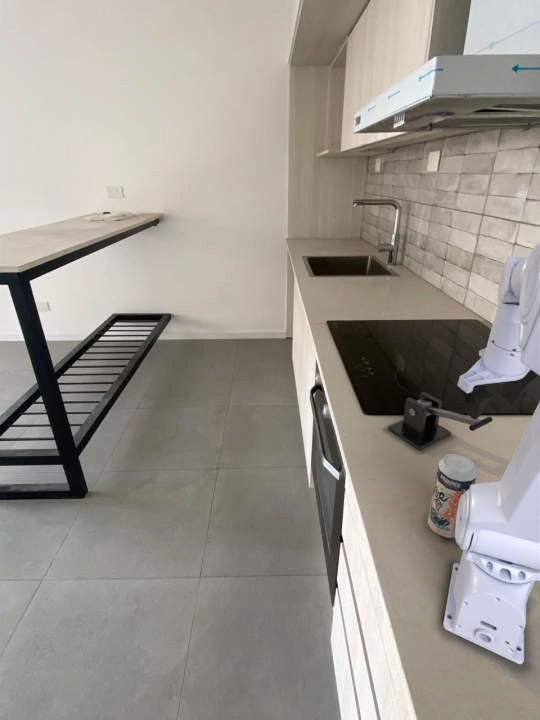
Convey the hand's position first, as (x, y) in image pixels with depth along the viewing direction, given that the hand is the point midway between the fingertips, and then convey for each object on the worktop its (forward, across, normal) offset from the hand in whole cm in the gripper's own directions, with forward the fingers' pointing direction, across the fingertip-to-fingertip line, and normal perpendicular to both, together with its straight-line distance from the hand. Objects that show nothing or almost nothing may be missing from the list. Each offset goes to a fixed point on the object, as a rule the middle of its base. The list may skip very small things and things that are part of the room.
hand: (490, 406), depth 64 cm
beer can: (+9, +16, +10) cm, 21 cm away
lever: (+8, +2, -5) cm, 10 cm away
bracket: (+15, +4, -10) cm, 18 cm away
